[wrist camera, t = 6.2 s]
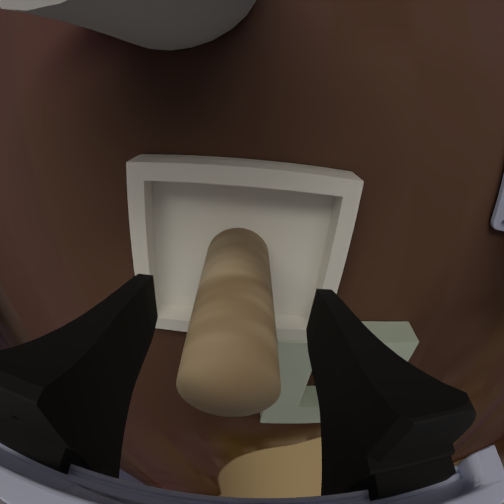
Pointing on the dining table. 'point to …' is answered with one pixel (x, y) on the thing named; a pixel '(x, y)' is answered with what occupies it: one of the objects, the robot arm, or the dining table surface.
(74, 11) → the cup
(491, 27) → the dining table surface
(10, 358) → the robot arm
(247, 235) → the peg
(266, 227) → the tray
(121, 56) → the dining table surface
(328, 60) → the dining table surface
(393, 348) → the holder
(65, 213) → the dining table surface
